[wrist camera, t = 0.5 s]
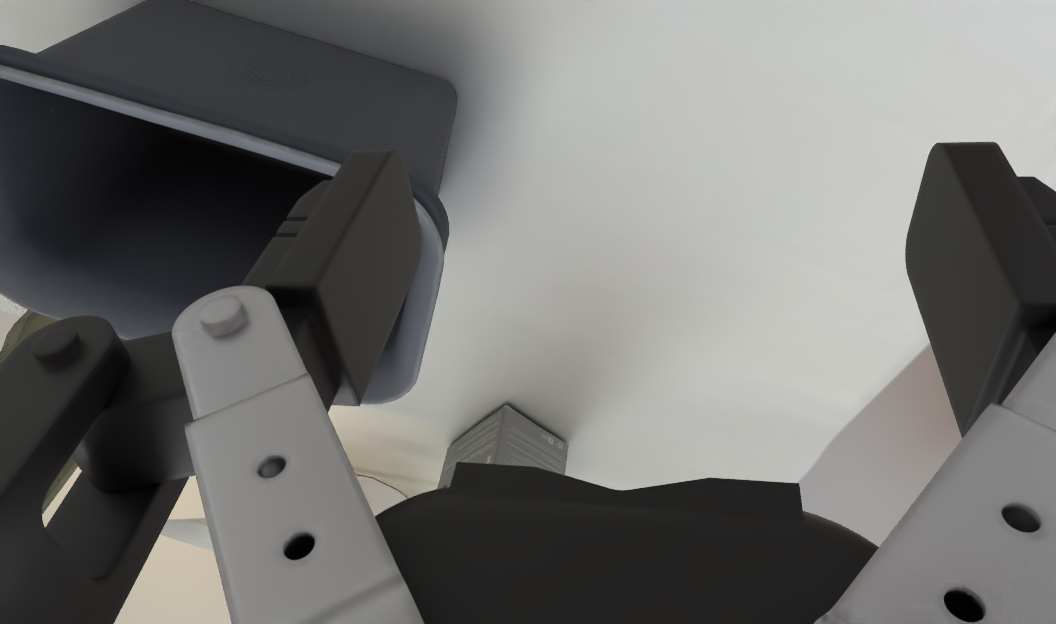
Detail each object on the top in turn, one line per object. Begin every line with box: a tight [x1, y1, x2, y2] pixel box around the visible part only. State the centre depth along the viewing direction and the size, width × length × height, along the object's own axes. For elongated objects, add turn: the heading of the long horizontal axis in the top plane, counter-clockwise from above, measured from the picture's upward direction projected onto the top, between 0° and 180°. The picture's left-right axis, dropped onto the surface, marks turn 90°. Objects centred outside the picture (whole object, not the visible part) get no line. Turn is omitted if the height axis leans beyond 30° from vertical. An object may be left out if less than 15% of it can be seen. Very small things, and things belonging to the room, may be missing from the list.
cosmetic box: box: [437, 405, 568, 489], centre depth 54 cm, size 8×7×16 cm
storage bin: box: [0, 0, 457, 404], centre depth 39 cm, size 21×16×14 cm
